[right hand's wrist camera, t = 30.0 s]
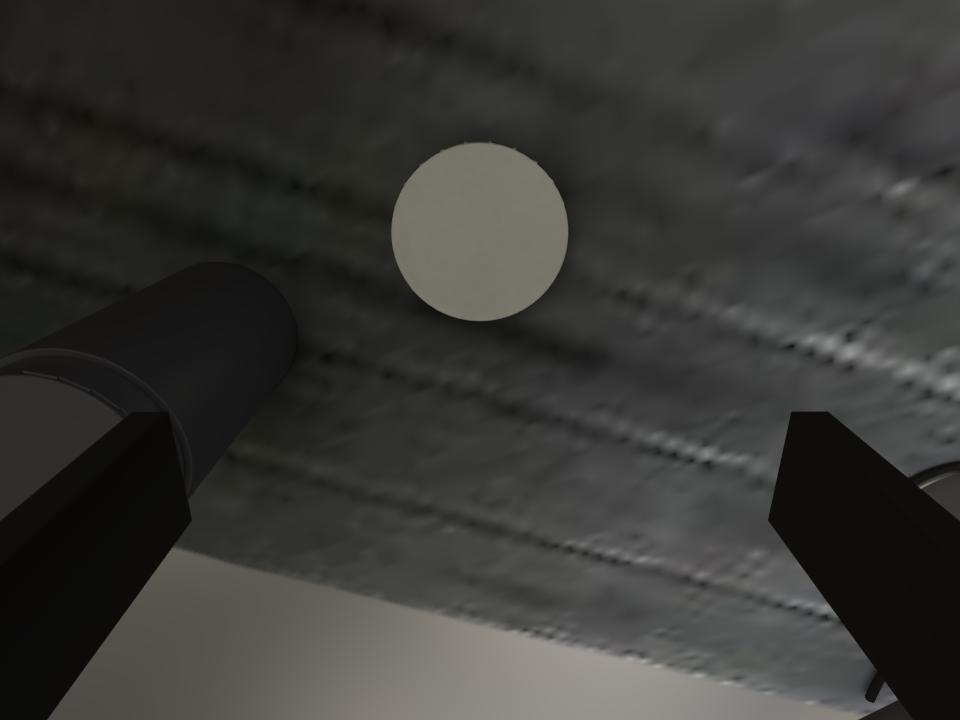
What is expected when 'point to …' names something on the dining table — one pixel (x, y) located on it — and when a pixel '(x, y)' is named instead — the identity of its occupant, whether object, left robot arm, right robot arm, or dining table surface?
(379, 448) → the dining table surface
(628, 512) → the dining table surface
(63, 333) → the jar
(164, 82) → the dining table surface
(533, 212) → the lid
